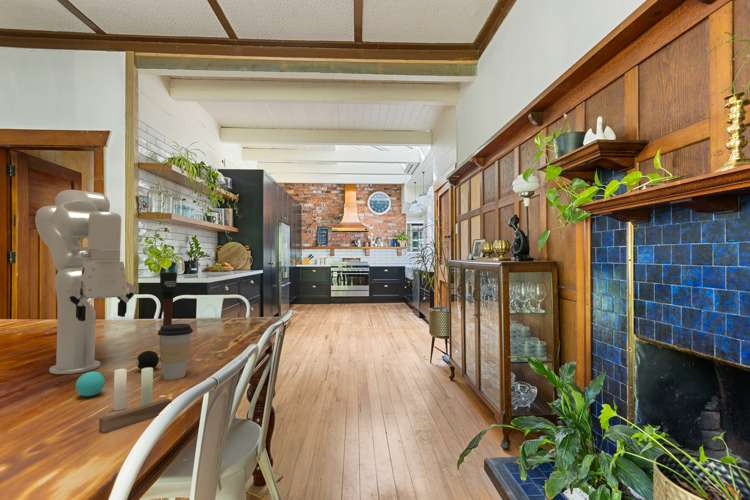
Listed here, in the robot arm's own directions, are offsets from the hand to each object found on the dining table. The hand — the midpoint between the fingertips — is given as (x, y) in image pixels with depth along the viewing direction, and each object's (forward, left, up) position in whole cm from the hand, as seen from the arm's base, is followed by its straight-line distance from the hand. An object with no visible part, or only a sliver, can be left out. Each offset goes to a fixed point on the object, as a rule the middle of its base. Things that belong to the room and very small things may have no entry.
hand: (102, 318), depth 109 cm
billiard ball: (-3, +15, -19) cm, 24 cm away
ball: (+8, -5, -15) cm, 18 cm away
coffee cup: (+10, +16, -18) cm, 26 cm away
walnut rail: (+33, -6, -18) cm, 38 cm away
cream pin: (+23, -5, -18) cm, 29 cm away
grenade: (-10, +25, -18) cm, 32 cm away
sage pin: (+27, -1, -18) cm, 32 cm away
